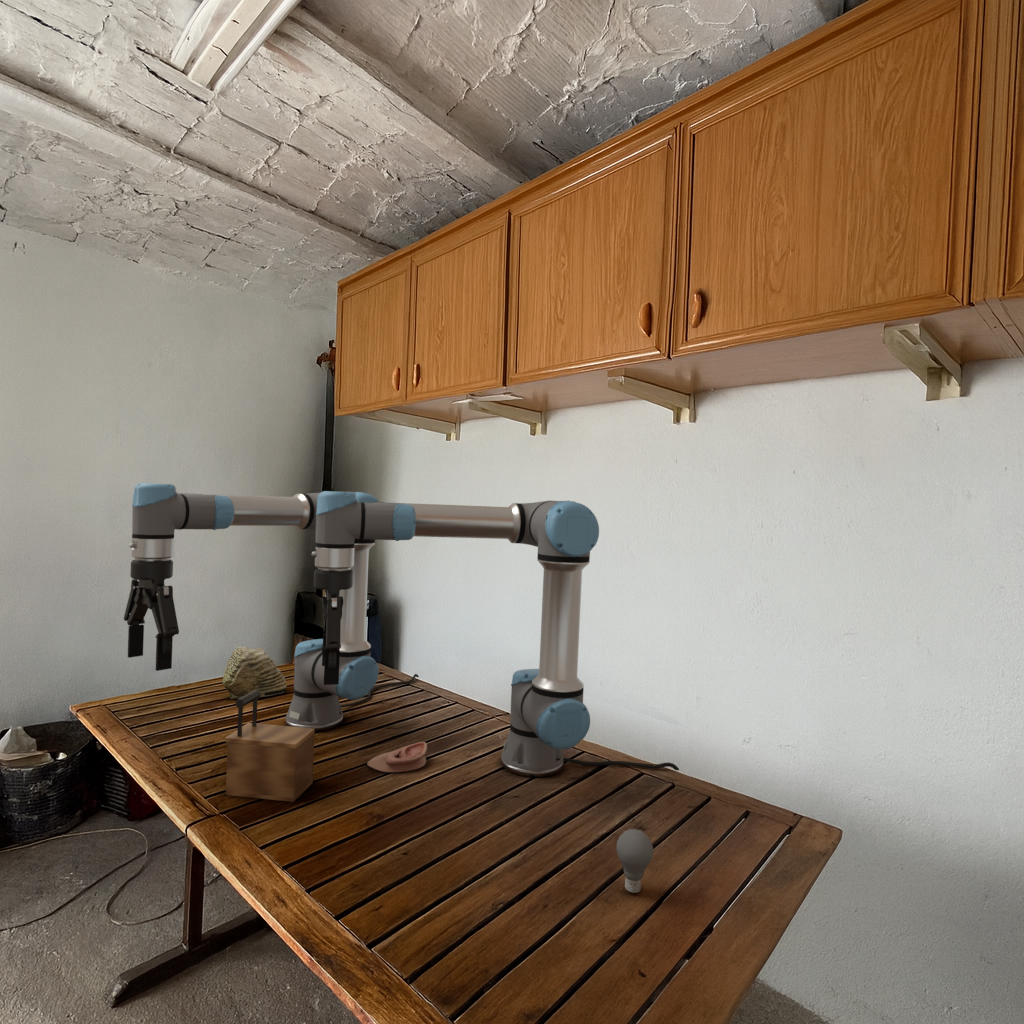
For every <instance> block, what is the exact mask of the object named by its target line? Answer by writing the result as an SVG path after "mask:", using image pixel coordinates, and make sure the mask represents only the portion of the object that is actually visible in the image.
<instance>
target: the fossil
mask: <svg viewBox="0 0 1024 1024" xmlns="http://www.w3.org/2000/svg"><path fill="white" fill-rule="evenodd" d="M222 676H223V677H222V685H223V687H224V688H225V690H226V691H228V693H229V698H230V699H239V698H241V697H243V696H245V695H247V694H248V693H250V692H252V691H254V690H259V691H260V697H259V698H264V697H271V696H275V695H281V694H284V693H285V691H286V689H287V687H288V686H287V680H286V678H285V676H284V674H283V673H282V672H281V669H279V668H278V667H277V665H276V663H275V662H274V660H273V659H272V658H271V657H270V656H269V655H268V654H267V653H266V652H265V650H264V649H263V648H260V647H258V648H251V647H247V646H246V647H245V646H238V647H237V648H236V649H235V650H233V651H232V653H231V656H230V657H229V659H228V660H227V663H226V666H225V668H224V671H223V675H222Z"/></svg>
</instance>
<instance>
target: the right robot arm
mask: <svg viewBox="0 0 1024 1024" xmlns="http://www.w3.org/2000/svg"><path fill="white" fill-rule="evenodd" d="M334 491H335V490H333V491H332V490H323V491H321V492H319V493H320V494H319V495H318V501H317V512H316V531H315V550H314V551H312V552H311V556H312V557H315V558H314V566H315V568H316V569H315V570H314V571H313V587H314V588H315V589H317V590H322V591H324V595H325V596H321V597H322V598H321V602H322V603H321V605H322V613H323V624H322V627H323V629H322V632H323V634H322V639H323V646H322V651H323V652H322V666H324V685H335V684H339V661H340V649H341V644H340V631H341V619H342V608H343V596H340V590H347V589H350V588H352V586H353V571H352V570H351V568H352V567H353V566H354V540H355V539H374V540H375V541H376V540H377V541H395V542H399V541H410V540H412V539H413V538H414V537H419V538H421V537H423V538H452V539H453V538H457V539H459V538H461V539H492V540H493V539H494V540H495V539H496V540H498V539H499V540H508V541H509V543H510V544H522V545H527V546H532V547H535V548H537V558H536V559H537V562H538V563H539V564H540V565H541V566H542V568H543V576H542V577H543V579H542V597H541V598H542V602H541V619H540V621H541V623H540V645H539V663H538V664H539V668H526V669H525V668H524V669H518V670H516V671H515V672H513V673H512V677H511V678H512V679H511V683H510V686H511V690H510V691H511V694H510V718H509V719H510V720H509V732H508V735H507V738H506V739H505V740H504V743H503V747H502V748H503V749H502V751H501V756H500V764H501V767H503V768H504V769H505V770H506V771H508V772H510V773H512V774H514V775H519V776H521V777H522V776H523V777H531V778H543V777H550V776H554V775H556V774H558V773H560V772H561V771H562V770H563V768H564V763H570V764H575V765H576V764H577V765H580V766H590V767H596V766H598V767H600V766H601V767H602V766H627V767H635V768H644V769H662V768H668V767H669V768H672V769H673V770H674V771H680V768H679V767H678V766H677V765H676V764H674V763H673V762H661V763H654V764H653V763H643V762H635V761H626V760H625V761H623V760H604V761H603V760H602V761H586V760H580V759H575V758H569V757H564V753H563V750H568V749H572V748H574V747H576V746H577V745H578V744H579V743H580V742H581V741H582V740H584V739H585V737H586V736H587V734H588V732H589V730H590V726H591V714H590V712H589V709H588V707H587V705H585V703H584V686H585V685H584V682H583V681H582V680H581V679H580V678H579V676H578V671H579V670H578V667H579V666H578V665H579V645H580V625H581V606H582V605H581V604H582V583H583V581H582V580H583V570H584V569H585V568H586V567H587V566H588V565H589V564H590V562H591V561H590V560H591V559H590V558H591V551H592V550H593V548H594V547H596V546H597V543H598V541H599V536H600V526H599V521H598V518H597V517H596V515H595V514H594V512H593V511H592V510H591V509H590V508H589V507H588V506H586V505H585V504H582V503H580V502H576V501H573V500H544V501H543V500H542V501H537V502H525V503H524V502H523V503H519V502H512V503H510V505H509V506H487V505H462V504H461V505H459V504H436V503H411V502H409V503H408V502H403V503H402V502H387V501H386V502H385V501H379V502H373V503H364V502H357V499H356V494H355V493H353V492H354V491H338V492H334ZM654 765H655V766H654Z"/></svg>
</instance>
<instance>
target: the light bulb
mask: <svg viewBox="0 0 1024 1024" xmlns="http://www.w3.org/2000/svg"><path fill="white" fill-rule="evenodd" d="M615 849H616V854H617V857H618V859H619V861H620V863H621V865H622V867H623V873H624V874H623V875H624V876H625V878H624V888H625V890H627V891H628V892H630V893H634V894H635V893H639V892H640V891H641V889H642V887H641V886H642V879H643V877H644V875H645V871H646V868H647V867H648V866H649V864H650V863H651V861H652V859H653V855H654V847H653V843H652V841H651V838H649V836H648V835H647V834H646V833H645V832H643V831H642V830H641V829H636V828H629V829H627V830H625V831H623V832H622V833H621V834H620V835H619V837H618V839H617V841H616V847H615Z"/></svg>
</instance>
